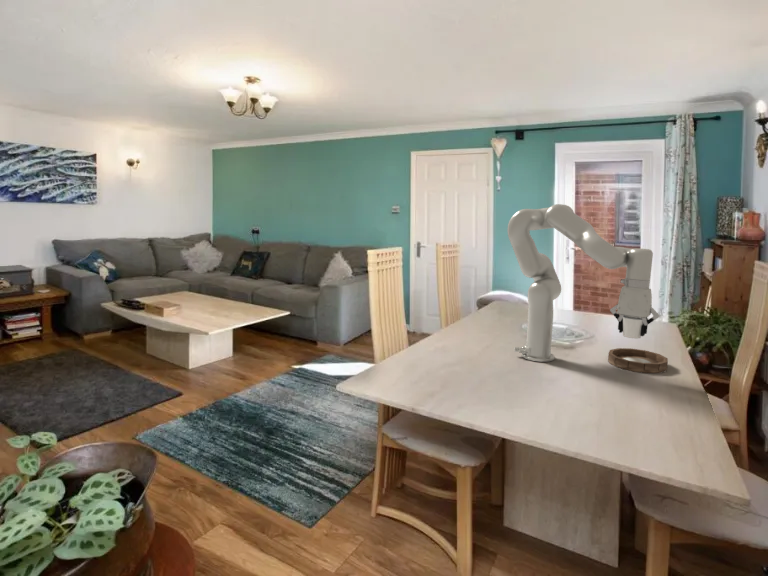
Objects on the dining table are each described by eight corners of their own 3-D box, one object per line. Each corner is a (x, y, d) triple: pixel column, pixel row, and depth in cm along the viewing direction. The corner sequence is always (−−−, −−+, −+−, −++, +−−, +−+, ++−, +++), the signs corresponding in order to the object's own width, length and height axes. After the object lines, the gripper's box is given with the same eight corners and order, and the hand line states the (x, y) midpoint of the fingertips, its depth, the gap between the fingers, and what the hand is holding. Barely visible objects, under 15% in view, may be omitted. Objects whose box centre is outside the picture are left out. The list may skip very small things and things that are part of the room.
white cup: (645, 339, 159) (647, 319, 158) (623, 338, 160) (625, 318, 159) (639, 334, 165) (641, 315, 164) (618, 333, 167) (620, 314, 166)
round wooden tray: (623, 372, 167) (624, 363, 167) (599, 356, 187) (599, 347, 186) (678, 373, 167) (679, 364, 166) (648, 356, 187) (649, 348, 186)
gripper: (607, 282, 162) (602, 331, 165) (663, 288, 152) (657, 340, 154) (613, 280, 168) (608, 327, 171) (667, 285, 157) (661, 336, 160)
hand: (631, 333), depth 163 cm, fingers closed on white cup, 6 cm apart
